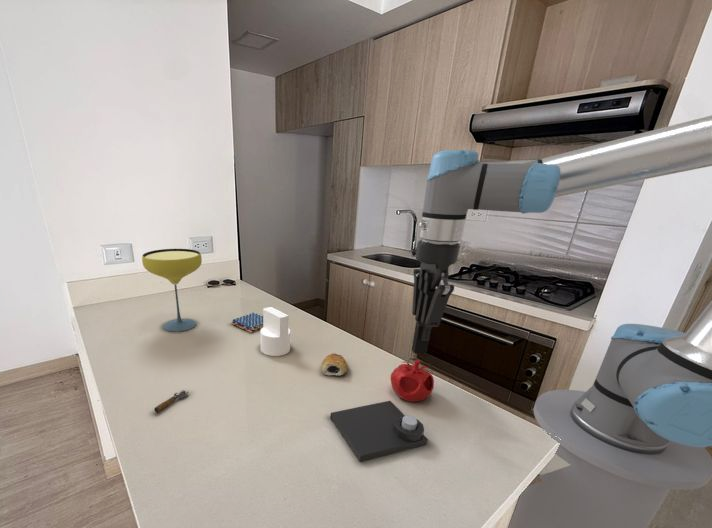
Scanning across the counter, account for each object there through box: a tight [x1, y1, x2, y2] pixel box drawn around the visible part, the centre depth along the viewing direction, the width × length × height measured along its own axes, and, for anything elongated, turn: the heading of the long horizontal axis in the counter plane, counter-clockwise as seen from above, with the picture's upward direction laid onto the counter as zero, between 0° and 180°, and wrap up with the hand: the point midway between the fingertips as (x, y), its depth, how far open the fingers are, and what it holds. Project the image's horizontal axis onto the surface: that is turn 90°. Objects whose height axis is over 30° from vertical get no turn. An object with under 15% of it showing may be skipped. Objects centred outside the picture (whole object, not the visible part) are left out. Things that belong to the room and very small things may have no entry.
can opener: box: [154, 389, 189, 413], centre depth 78 cm, size 9×2×1 cm, turn 144°
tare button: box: [401, 415, 418, 431], centre depth 68 cm, size 3×3×2 cm
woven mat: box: [231, 312, 263, 333], centre depth 120 cm, size 10×11×2 cm
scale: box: [329, 400, 429, 463], centre depth 70 cm, size 15×13×3 cm
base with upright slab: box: [259, 306, 291, 357], centre depth 101 cm, size 9×9×12 cm
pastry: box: [320, 353, 348, 377], centre depth 93 cm, size 9×7×4 cm
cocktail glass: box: [141, 248, 203, 333], centre depth 114 cm, size 18×18×25 cm
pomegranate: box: [390, 359, 435, 402], centre depth 82 cm, size 10×10×9 cm
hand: (419, 351), depth 73 cm, fingers closed
